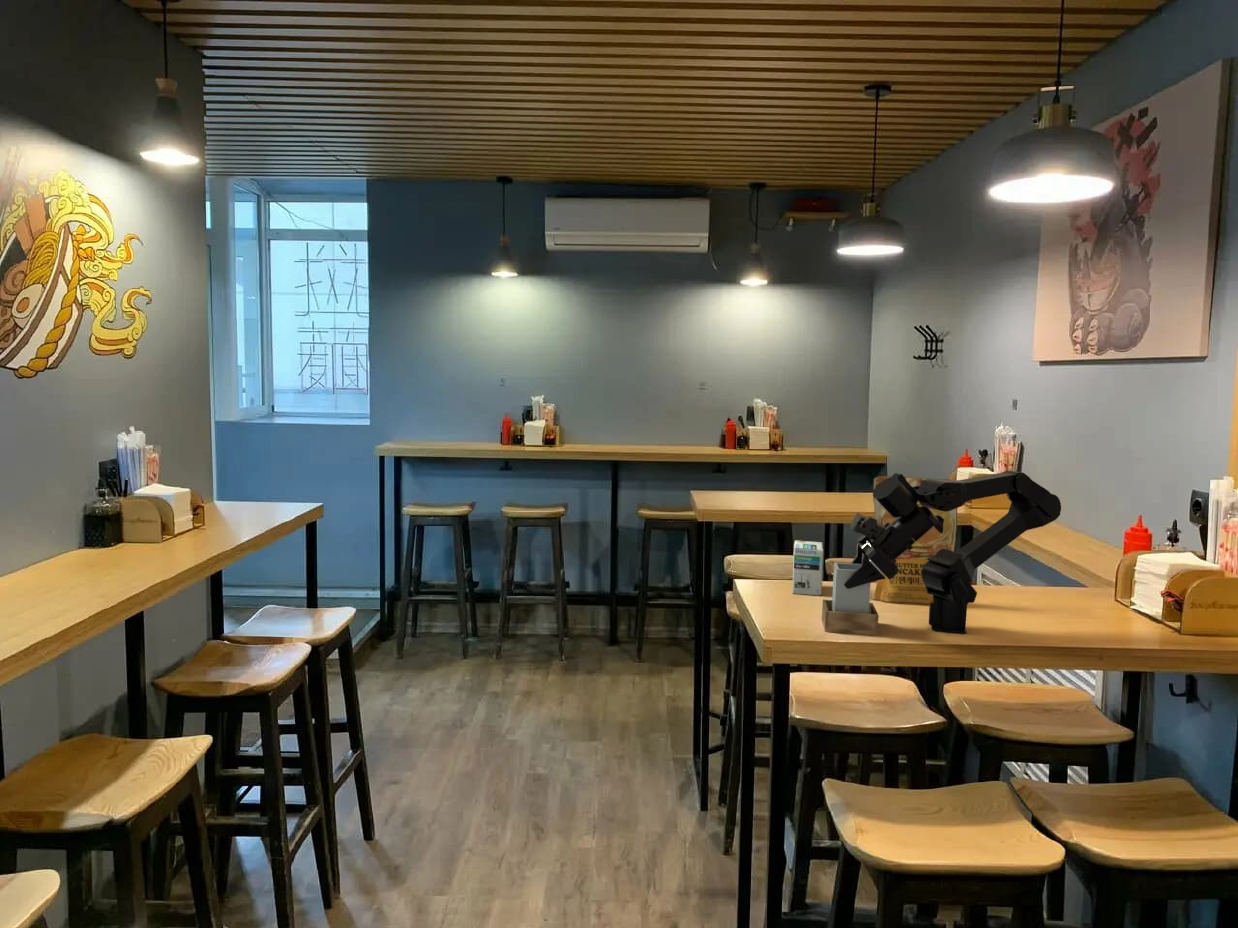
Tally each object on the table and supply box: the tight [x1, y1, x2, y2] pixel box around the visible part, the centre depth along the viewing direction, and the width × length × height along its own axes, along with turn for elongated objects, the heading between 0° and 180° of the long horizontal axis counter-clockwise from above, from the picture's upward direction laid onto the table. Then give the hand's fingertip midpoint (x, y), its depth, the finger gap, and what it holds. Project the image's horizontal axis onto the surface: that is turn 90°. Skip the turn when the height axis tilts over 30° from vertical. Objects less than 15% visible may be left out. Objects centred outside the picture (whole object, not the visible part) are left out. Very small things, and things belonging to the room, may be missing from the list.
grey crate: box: [831, 562, 872, 614], centre depth 178 cm, size 6×6×10 cm
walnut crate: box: [821, 599, 879, 637], centre depth 178 cm, size 10×10×4 cm
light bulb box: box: [791, 539, 824, 596], centre depth 209 cm, size 11×7×11 cm, turn 168°
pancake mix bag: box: [872, 475, 958, 606], centre depth 200 cm, size 7×19×28 cm, turn 84°
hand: (844, 582), depth 178 cm, fingers closed on grey crate, 6 cm apart
